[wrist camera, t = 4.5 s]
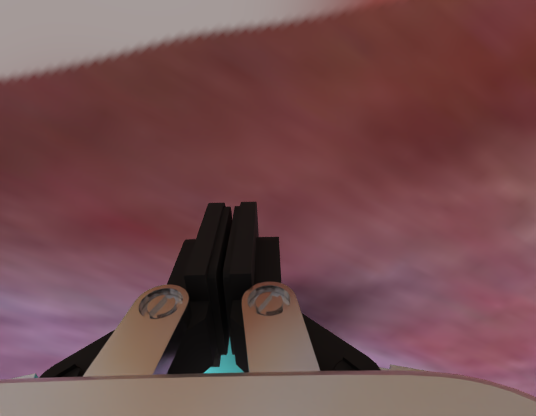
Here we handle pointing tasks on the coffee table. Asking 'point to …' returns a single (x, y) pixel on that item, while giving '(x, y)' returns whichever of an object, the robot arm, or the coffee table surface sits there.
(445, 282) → the coffee table surface
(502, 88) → the coffee table surface
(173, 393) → the robot arm
